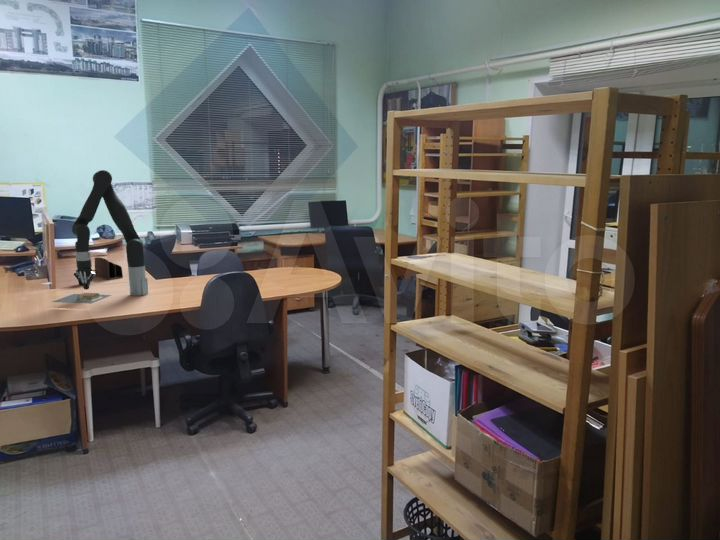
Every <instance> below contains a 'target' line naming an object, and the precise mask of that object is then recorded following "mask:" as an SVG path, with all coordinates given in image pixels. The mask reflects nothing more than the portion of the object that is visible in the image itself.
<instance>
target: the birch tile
mask: <svg viewBox="0 0 720 540" xmlns="http://www.w3.org/2000/svg"><path fill="white" fill-rule="evenodd" d="M79 294H80V295H77V300H94V299H97V298H99V295H100V293H98V292H82V293H79Z"/></svg>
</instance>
